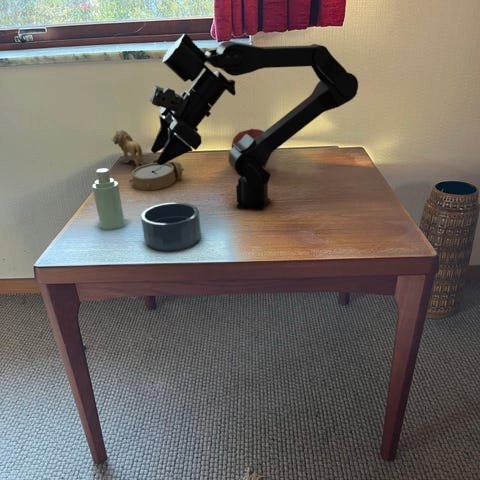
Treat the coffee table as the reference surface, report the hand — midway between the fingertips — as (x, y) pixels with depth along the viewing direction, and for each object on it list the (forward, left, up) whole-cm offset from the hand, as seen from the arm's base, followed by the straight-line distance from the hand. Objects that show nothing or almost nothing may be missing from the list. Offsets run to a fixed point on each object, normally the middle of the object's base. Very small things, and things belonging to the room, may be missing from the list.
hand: (155, 157), depth 110 cm
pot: (-8, +11, -14) cm, 19 cm away
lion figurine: (+28, -35, -14) cm, 46 cm away
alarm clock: (+12, -22, -14) cm, 29 cm away
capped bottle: (+9, +7, -14) cm, 18 cm away
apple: (-10, -35, -14) cm, 39 cm away
